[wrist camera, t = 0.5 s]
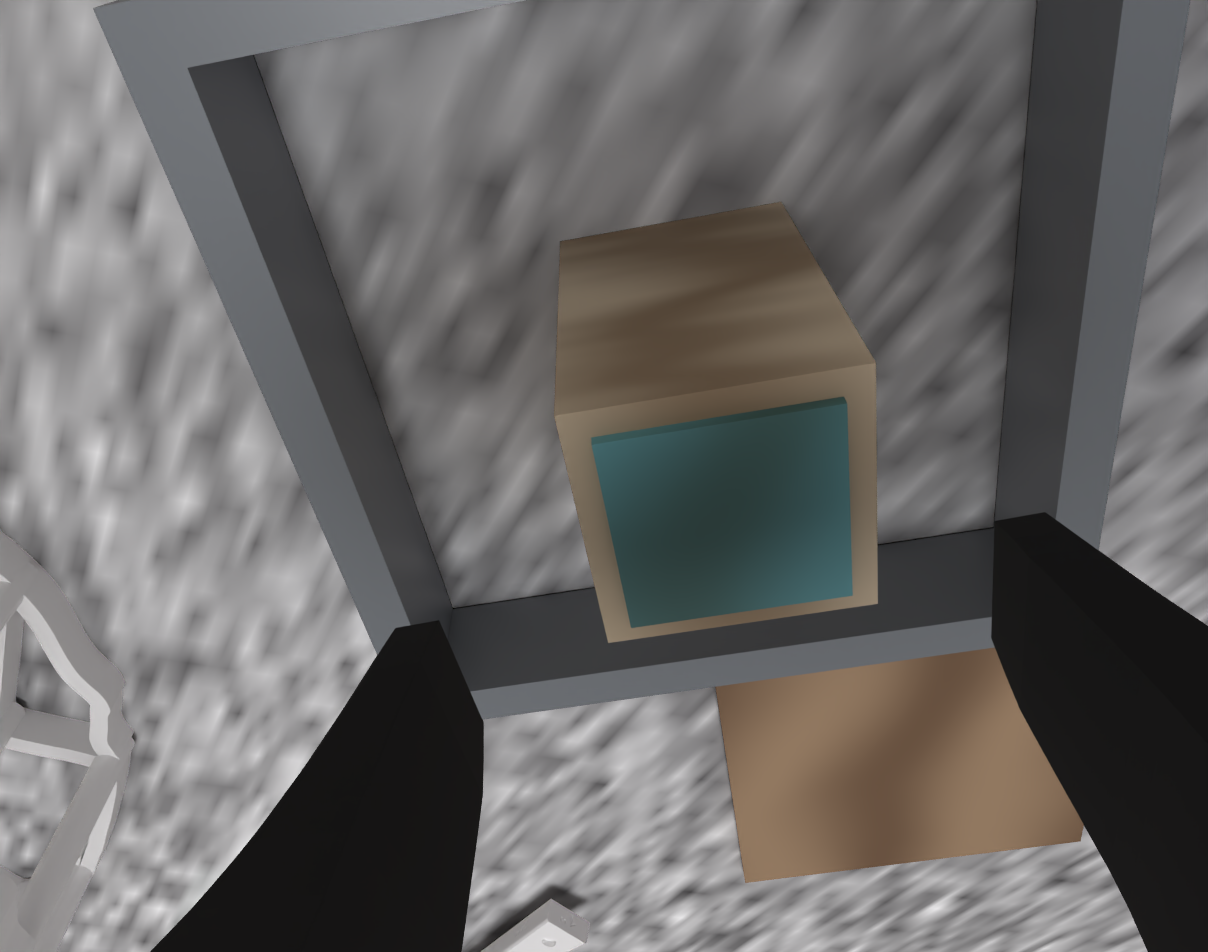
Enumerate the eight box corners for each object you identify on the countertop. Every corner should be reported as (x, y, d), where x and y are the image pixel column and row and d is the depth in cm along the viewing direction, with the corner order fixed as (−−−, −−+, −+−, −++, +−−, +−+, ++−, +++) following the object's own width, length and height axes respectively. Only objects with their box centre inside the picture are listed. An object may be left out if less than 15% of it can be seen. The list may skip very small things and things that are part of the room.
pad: (1122, 581, 24) (1129, 591, 24) (1075, 830, 30) (1080, 841, 30) (708, 641, 25) (710, 651, 25) (743, 871, 31) (745, 882, 31)
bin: (1118, -214, 15) (1228, -227, 12) (1030, 552, 24) (1084, 634, 21) (168, -17, 16) (93, 8, 13) (426, 641, 25) (410, 729, 22)
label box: (780, 201, 18) (879, 369, 12) (794, 395, 21) (881, 612, 15) (560, 241, 19) (553, 423, 13) (599, 427, 21) (608, 651, 15)
